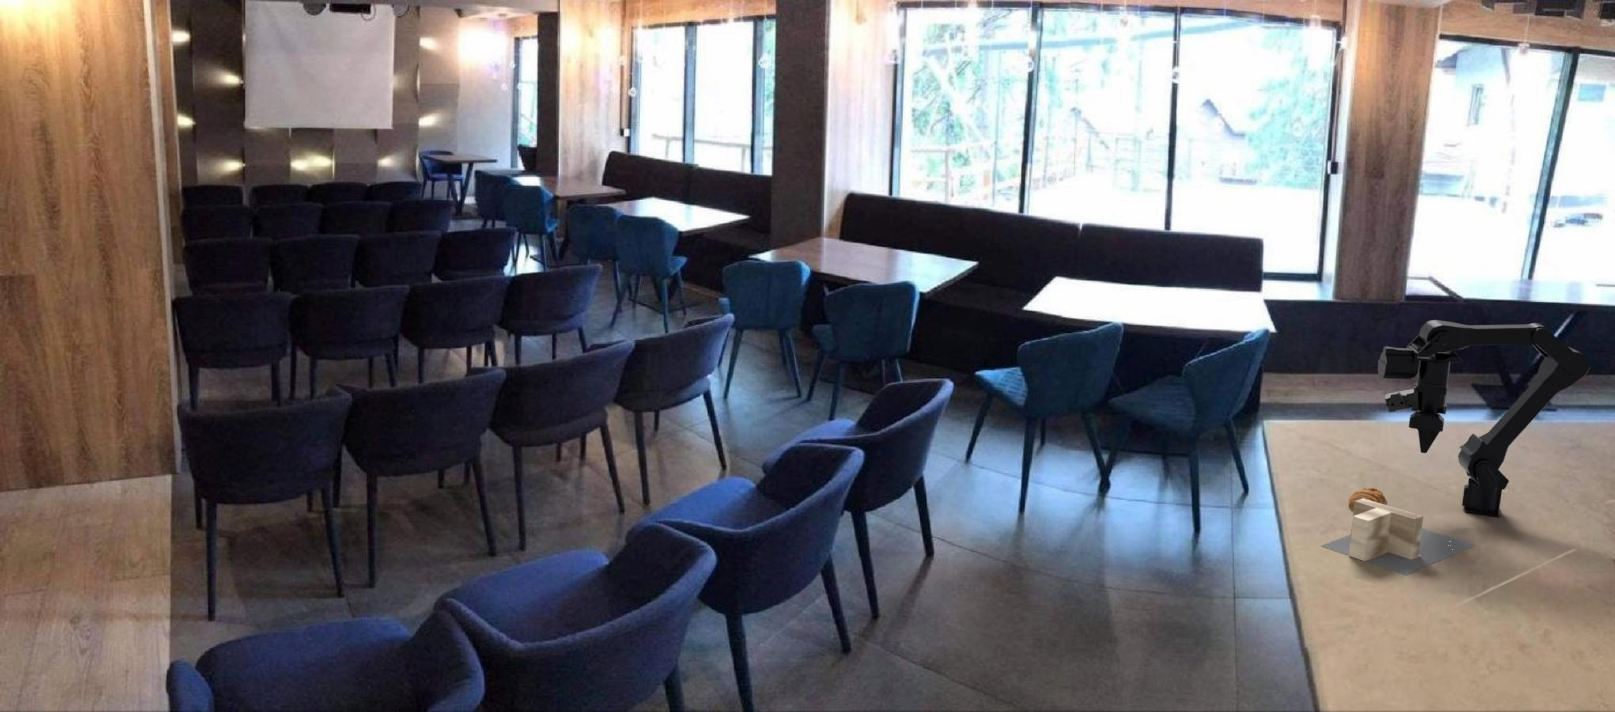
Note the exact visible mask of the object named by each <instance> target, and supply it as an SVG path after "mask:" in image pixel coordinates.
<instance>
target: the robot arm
mask: <svg viewBox="0 0 1615 712" xmlns="http://www.w3.org/2000/svg"><path fill="white" fill-rule="evenodd" d="M1515 345H1516V346H1520V345H1521V346H1523V345H1524V346H1525V345H1526V346H1527V345H1528V346H1529V345H1530V346H1531V345H1532V346H1533V347H1534V348H1535V349H1536V351H1538V352H1539V354H1541V355H1542V356H1543V357H1544V358H1543V360H1542V361H1541V363H1540V365H1539V368H1538V371H1537V375H1536V377H1535V378H1534V380H1533V382H1532V383H1531V384H1530V385H1529V386H1528V388H1526V390H1525V391H1524V392H1523V393H1522V394H1521V395H1520V396H1519V397H1518V398H1517V399H1516V401H1515V402H1514V403H1513V404H1512V405H1511V407H1509V409H1508V410H1507V411H1505V413H1504V414H1503V415H1502V416H1501V418H1499V420H1498V421H1497V422H1496V423H1495V424H1494V425H1493V426H1492V428H1490V430H1489V431H1487V432H1486V433H1484V434H1483V435H1481V436H1478V435H1476V434H1475V433H1471V435H1470V436H1469V437H1468V439H1467V441H1466V442H1465V443H1464V444H1462V445H1460V446H1459V449H1460V451H1459V453H1458V456H1457V457H1458V463H1459V465H1460V466H1461V468H1463V470H1465V473H1466V475H1467V477H1469V478H1468V483H1467V484H1464V487H1463V496H1462V501H1461V506H1462V507H1463V512H1465V511H1467V512H1466V513H1471V512H1472V514H1477V513H1478V515H1485V516H1490V515H1491V517H1500V515H1501V514H1500V513H1501V512H1500V510H1501V508H1500V507H1501V500H1502V494H1503V493H1502V492H1503V490H1505V489H1506V488H1507V486H1508V485H1509V483H1510V480H1509V479H1508V478H1507V477H1506V476H1505V475H1504V474H1503V473H1502V472H1501V471H1500V470H1499V469H1500V468H1501V466H1502V464H1503V463H1504V461H1505V458H1506V455H1507V452H1508V449H1509V447H1510V445H1512V443H1513V442H1515V440H1516V439H1517V438H1518V437H1519V436H1520V435H1521V434H1522V432H1523V431H1524V430H1525V429H1526V428H1527V427H1528V426H1529V425H1530V424H1531V423H1532V421H1534V419H1535V418H1536V417H1537V416H1538V415H1539V413H1540V412H1542V410H1543V409H1544V408H1545V407H1546V406H1547V405H1548V404H1549V403H1550V402H1551V400H1552V399H1554V397H1555V396H1556V395H1557V394H1559V393H1561V392H1562V391H1564V390H1566V389H1568V388H1570V387H1573V386H1574V385H1575V384H1576V383H1578V382H1579V381H1580V380H1581V379H1582V378H1584V377H1585V376H1586V375H1588V373H1589V371H1590V369H1591V365H1590V360H1589V359H1588V357H1587V356H1586V355H1585V354H1584V353H1582V352H1580V351H1578V350H1576V349H1574V348H1573V347H1569V346H1568V345H1567V344H1565V343H1564V342H1563V341H1562V340H1561V339H1560V338H1558V337H1557V336H1556V335H1554V333H1553V332H1551V330H1550V328H1548V327H1546V326H1544V325H1542V324H1541V323H1538V322H1533V323H1527V324H1523V323H1522V324H1479V325H1477V324H1476V325H1471V324H1470V325H1469V324H1462V323H1457V322H1454V321H1453V322H1452V321H1446V320H1439V319H1433V320H1432V319H1431V320H1428V321H1426V322H1425V323H1424V324H1423V325H1422V327H1420V330H1419V334H1417V336H1416V337H1415V338H1413V339H1412V341H1411V342H1410V343H1409V344H1408V345H1407V346H1406V348H1403V347H1402V348H1401V347H1393V346H1384V347H1382V348H1383V349H1382V353H1381V354H1380V356H1379V359H1378V362H1377V372H1378V373H1377V374H1378V378H1379V379H1381V380H1398V381H1399V380H1401V381H1411V380H1412V379H1413V378H1416V376H1417V379H1416V383H1415V384H1414V388H1412V389H1404V390H1400V391H1395V392H1390V393H1386V394H1385V395H1384V400H1385V401H1384V402H1385V406H1386V409H1387V411H1388V413H1393V412H1396V411H1399V410H1405V409H1410V408H1411V411H1413V413H1411V414H1410V416H1409V422H1408V428H1410V429H1414V430H1417V432H1418V433H1417V435H1418V441H1419V450H1420V453H1422V454H1427V452H1428V451H1429V449H1430V448H1431V447H1432V445H1433V443H1434V441H1435V440H1436V439H1437V437H1438V435H1439V434H1440V433H1441V432H1443V430H1444V424H1445V418H1444V417H1443V416H1442V415H1446V414H1447V406H1448V403H1447V400H1446V399H1447V394H1448V393H1447V392H1448V387H1449V386H1448V385H1449V375H1450V370H1451V369H1450V368H1451V363H1462V362H1463V359H1462V358H1461V357H1460V356H1459V355H1458V354H1457V353H1456V351H1458V350H1463V349H1465V348H1468V347H1474V346H1515ZM1441 414H1442V415H1441Z"/></svg>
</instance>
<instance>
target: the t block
mask: <svg viewBox="0 0 1615 712" xmlns="http://www.w3.org/2000/svg"><path fill="white" fill-rule="evenodd" d="M1352 512H1353V513H1352V520H1351V528H1350V535H1351V537H1350V540H1351V541H1350V550H1349V556H1348V557H1351V558H1354V559H1356V560H1361V561H1363V562H1366V561H1365V560H1368V559H1370V558H1373V557H1375V556H1378V555H1380V554H1382V553H1385V552H1389V553H1393V554H1396V555H1399V556H1402V557H1405V558H1408V559H1412V558H1414V557H1417V556H1418V555H1419V547H1420V539H1421V531H1422V529H1423V521H1424V515H1420V514H1417V513H1413V512H1411V511H1407V510H1404V509H1401V508H1397V507H1395V506H1391V505H1388V504H1387V505H1384V504H1381V503H1377V502H1374V501H1370V500H1367V499H1364V498H1362V499H1359V500H1357V501H1354V510H1352Z"/></svg>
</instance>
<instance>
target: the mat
mask: <svg viewBox="0 0 1615 712" xmlns="http://www.w3.org/2000/svg"><path fill="white" fill-rule="evenodd" d="M1350 537H1351V534H1349V535H1346V536H1344V537H1343V536H1342V537H1341V538H1337V539H1335V540H1333V541H1330V542H1327V543H1324V544H1322V545H1320V547H1321V548H1325V549H1328V550H1331V551H1333V552H1337V553H1340V554H1342V555H1345V556H1348V557H1350V556H1349V550H1350V541H1351V540H1350ZM1449 541H1451V542H1449ZM1448 545H1449V546H1448ZM1450 545H1451V546H1450ZM1475 546H1476V544H1474V543H1471V542H1468V541H1465V540H1461V539H1458V538H1455V537H1452V536H1449V535H1448V536H1447V535H1444V534H1441V533H1437V532H1434V531H1431V530H1429V529H1424V528H1422V531H1421V539H1420V547H1419V555H1418V556H1417V557H1414V558H1412V559H1408V558H1405V557H1402V556H1399V555H1396V554H1393V553H1389V552H1385V553H1382V554H1380V555H1378V556H1375V557H1373V558H1370V559H1368V560H1365V561H1364V562H1366V563H1368V564H1371V565H1375V566H1378V567H1379V568H1383V569H1386V570H1390V571H1393V572H1395V573H1398V574H1401V575H1405V576H1408V575H1409V574H1412V573H1415V572H1417V571H1419V570H1421V569H1424V568H1426V567H1428V566H1431V565H1433V564H1436V563H1437V562H1440V561H1442V560H1445V559H1447V558H1449V557H1452V556H1455V555H1456V554H1459V553H1462V552H1464V551H1466V550H1468V549H1471V548H1473V547H1475ZM1452 549H1453V550H1452Z"/></svg>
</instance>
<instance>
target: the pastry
mask: <svg viewBox="0 0 1615 712" xmlns="http://www.w3.org/2000/svg"><path fill="white" fill-rule="evenodd" d="M1362 498H1364V499H1367V500H1370V501H1374V502H1377V503H1381V504H1384V505H1387V506H1388V500H1387V499H1386V496H1385V495H1384V492H1382V491H1381V490H1380V489H1378V488H1375V487H1368V488H1367V487H1363V488H1362V489H1360V490H1358V491H1355V492H1354V493H1353V494H1351V496H1350V497H1349V498H1348V508H1349V510H1351V511H1353V510H1354V501H1357V500H1359V499H1362Z"/></svg>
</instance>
